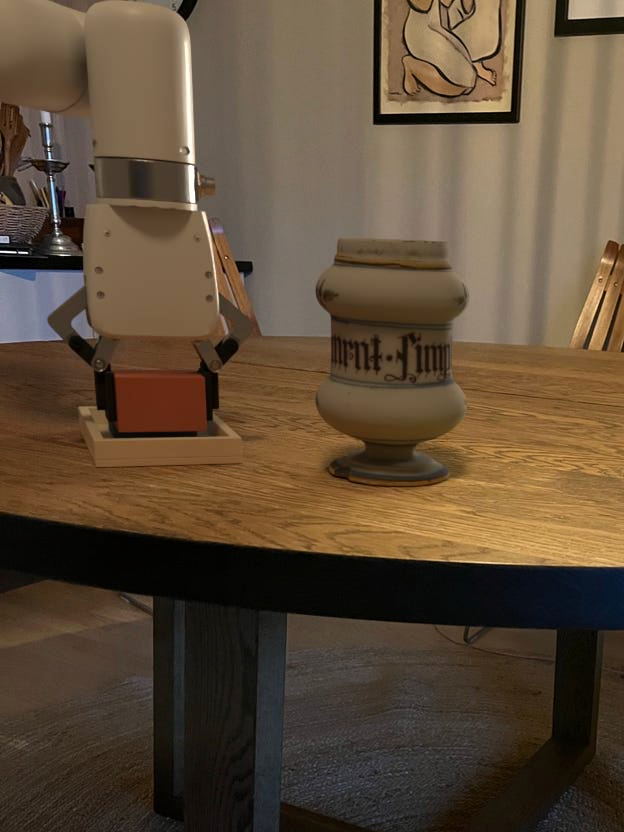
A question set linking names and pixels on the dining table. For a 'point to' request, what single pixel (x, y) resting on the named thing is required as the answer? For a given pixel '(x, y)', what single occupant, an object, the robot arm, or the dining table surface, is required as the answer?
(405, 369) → the apothecary jar
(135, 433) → the blue-gray block
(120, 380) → the red block
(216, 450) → the wooden tray
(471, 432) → the dining table surface
